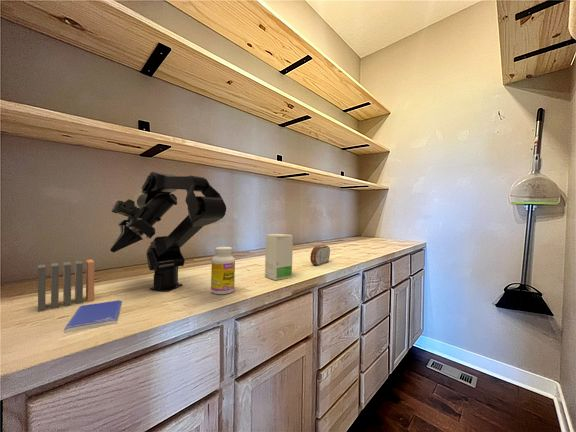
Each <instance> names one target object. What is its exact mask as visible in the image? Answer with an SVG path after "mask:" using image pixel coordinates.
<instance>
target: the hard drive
mask: <svg viewBox="0 0 576 432" xmlns="http://www.w3.org/2000/svg"><path fill="white" fill-rule="evenodd" d="M122 304H123V300H111V301H106V302H104V301H103V302H99V303H91V304H84V305H80V306H79V307H78V308H77V310H76V311H75V313H74V314H73V316H72V317H71V318H70V320H69V321H68V323H67V324H66V326H65V327H64V329H63V333H64V334H66V333H67V334H68V333H72V332H79V331H84V330H85V331H86V330H89V329H94V328H100V327H106V326H112V325H117V323H118V320H119V317H120V313H121V308H122Z"/></svg>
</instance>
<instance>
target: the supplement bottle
mask: <svg viewBox="0 0 576 432" xmlns="http://www.w3.org/2000/svg"><path fill="white" fill-rule="evenodd" d="M214 252H215V255H214V256H213V257H212V258H211V275H210V278H211V280H210V291H211V293H213V294H215V295H228V294H231V293H233V292H234V291H235V281H236V280H235V279H236V278H235V277H236V276H235V275H236V274H235V273H236V271H235V270H236V268H235V267H236V259H235V256H233V255H232V252H233V247H231V246H218V247H215V249H214Z"/></svg>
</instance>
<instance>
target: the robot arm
mask: <svg viewBox="0 0 576 432" xmlns="http://www.w3.org/2000/svg"><path fill="white" fill-rule="evenodd" d="M178 190H183V191H186V192H187V193H186V196H185V203H186V206H187V213H188V214H187V215H186V217H185V218H184V219H183V220H182V221H181V222H179V224H178V225H177V226H176V227H175V228H174V229H173V230H172V231H171V232H170V233H169V234H168V235H164V236H163V235H162V236H156V237H154V239H153V240H152V241H150V242H149V244H150V245H149V246H148V248H147V249H146V254H145V255H146V260H147V267H148V269H149V271H154V273H153V286H150V287H149V290H153V291H154V290H155V291H160V292H161V291H162V292H170V291H172V290H174V289H176V288H178V287H181V286H183V283H182V282H181V283H180V282H179V267H184V265H185V258H184V256H183V254H182V251H181V248H182V247H183V246H184V245H185V244H186V243H187V242H188V241H189V240H190V239H191V238H193V237H194V236H195V235H196V234H197V233H199V231H200V230H201V229H202V228H203V227H205V226H208V225H211V224H214V223H216V222H217V223H218V222H219V221H220V220H222V219H223V218H224V217H225V216H226V212H227V205H226V203H225V201H224V199H223V198H222V195H221V194H220V193H219V191H217V190H216V189H215V188H214V187H213V186H212V185H211V184H210V182H209V181H208V179H207V178H205V177H203V176H199V175H198V176H196V175H188V176H185V175H184V176H182V175H180V176H179V175H175V174H171V173H166V172H165V173H163V172H157V171H151V172H150V173H149V175H147V177H146V179H145V181H144V183H143V184H142V186H141V193H142V194H140V195H139V196H138V197H137V199H136V201H135V200H132V199H130V198H129V199H126V200H125V201H123V200H117V201H116V202H115V203H114V205H113V207H112V209H111V212H112V213H115V214H119V215H122V216H125V217H127V219H122V220H121V221H120V222H118V223H117V224H116V225H117V226H118V227H119V228H120V234H119V235H118V236H117V238H116V240H115V241H114V242H113V245H112V246H110V248H109V251H110V252H111V253H116V252H118V251H120V250H122V249H124V248H127V247H129V246H131V245H134V244H136V243H138V242H141V241H143V239H144V238H143V237H142V236H143V235H146V236H145V238H146V239H150V240H151V239H152V237H153V236H155V234H156V228H155V227H154V226H155V224H156V223H157V222H160V221H161V220H162V217H163V216H164V215H165V214H166V213H167V212H168V211H170V209H171V208H172V207H173V206H177V205H178V201H177V200H178V197H177V196H176V195H175V194H174V193H173V192H177V191H178ZM195 192H200V193H201V194H202V195H197V196H196V194H195ZM135 203H136V204H137V205H136V204H135Z"/></svg>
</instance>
